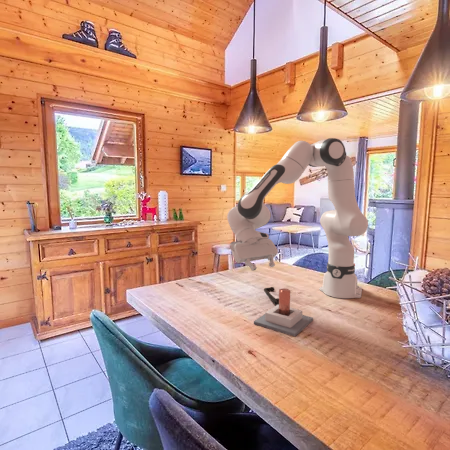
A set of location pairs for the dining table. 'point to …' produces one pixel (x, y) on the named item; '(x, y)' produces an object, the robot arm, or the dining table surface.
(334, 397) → the dining table surface
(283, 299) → the pin
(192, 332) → the dining table surface
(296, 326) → the socket board
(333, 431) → the dining table surface
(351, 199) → the robot arm
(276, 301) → the black hooked rod
